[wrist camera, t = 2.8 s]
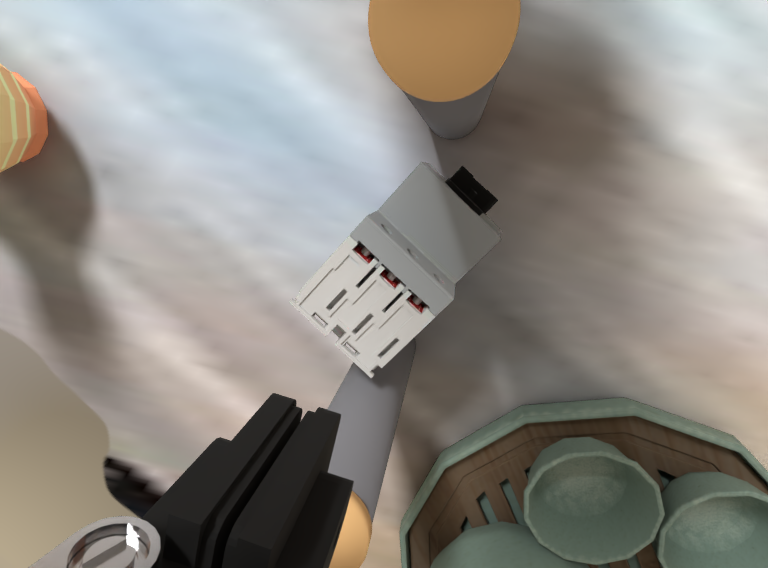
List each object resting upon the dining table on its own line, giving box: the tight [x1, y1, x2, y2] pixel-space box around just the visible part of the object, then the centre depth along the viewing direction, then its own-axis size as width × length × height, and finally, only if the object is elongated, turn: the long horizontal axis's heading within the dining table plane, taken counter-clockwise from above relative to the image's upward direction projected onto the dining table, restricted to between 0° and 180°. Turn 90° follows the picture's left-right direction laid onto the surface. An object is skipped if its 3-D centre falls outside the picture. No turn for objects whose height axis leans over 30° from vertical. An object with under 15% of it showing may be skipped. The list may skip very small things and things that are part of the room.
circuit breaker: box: [289, 162, 502, 378], centre depth 35 cm, size 8×14×15 cm, turn 137°
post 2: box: [368, 0, 520, 139], centre depth 27 cm, size 5×5×25 cm
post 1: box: [327, 338, 416, 568], centre depth 34 cm, size 5×5×25 cm
